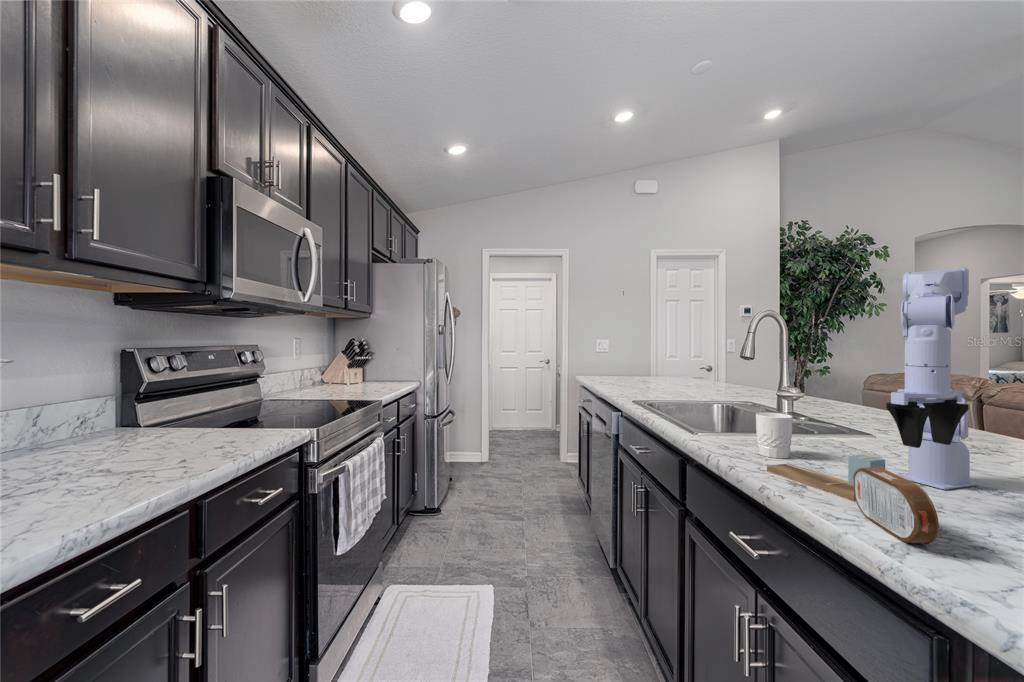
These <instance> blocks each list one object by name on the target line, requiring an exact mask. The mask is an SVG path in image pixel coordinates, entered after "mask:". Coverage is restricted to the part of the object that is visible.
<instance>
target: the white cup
mask: <svg viewBox="0 0 1024 682" xmlns="http://www.w3.org/2000/svg"><path fill="white" fill-rule="evenodd" d="M793 419H794V416H792V415H790V414H788V413H787V414H785V413H780V412H779V413H778V412H756V413H755V429H756V430H755V431H756V441H757V453H758V455H761V456H763V457H767V458H771V457H772V458H771V459H782V458H784V459H788V458H790V457H791V445H792V437H793V421H794V420H793Z"/></svg>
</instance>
